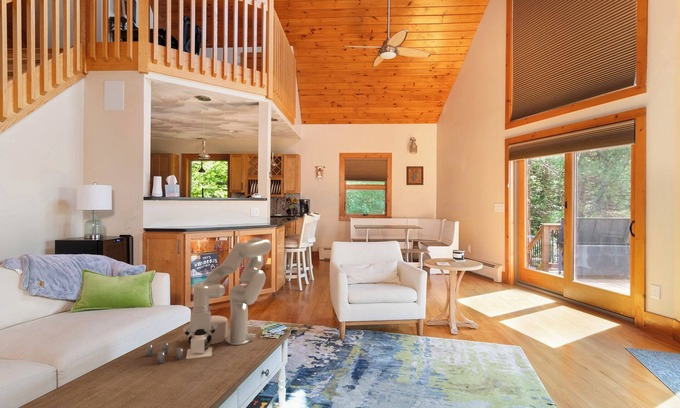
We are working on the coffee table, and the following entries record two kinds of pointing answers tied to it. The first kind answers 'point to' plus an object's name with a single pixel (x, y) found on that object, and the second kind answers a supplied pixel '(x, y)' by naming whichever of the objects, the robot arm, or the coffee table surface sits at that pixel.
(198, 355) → the pad
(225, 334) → the container
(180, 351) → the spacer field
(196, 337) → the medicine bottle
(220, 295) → the robot arm
